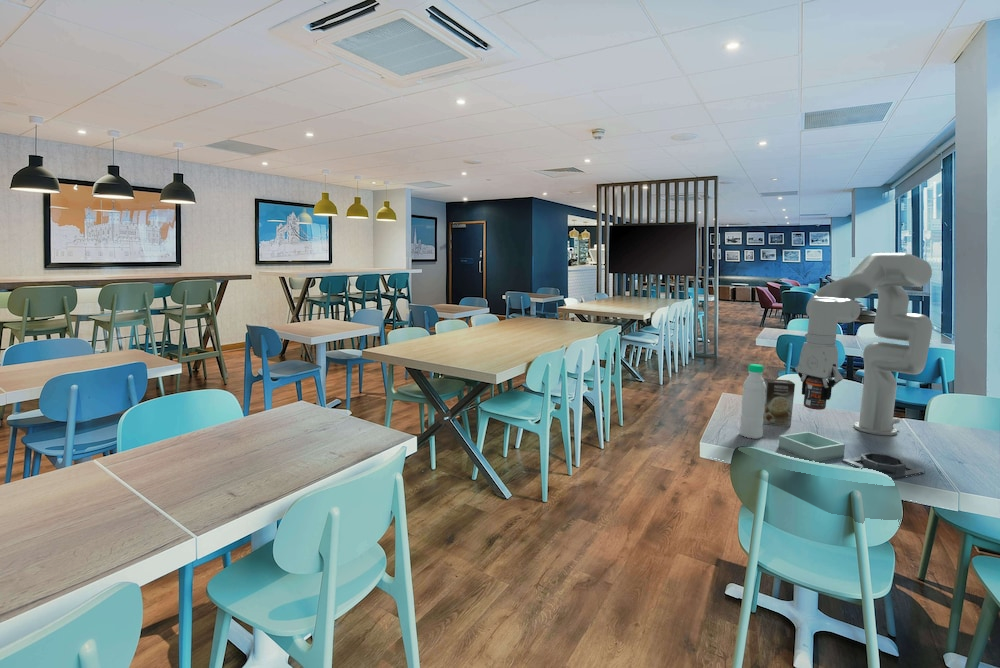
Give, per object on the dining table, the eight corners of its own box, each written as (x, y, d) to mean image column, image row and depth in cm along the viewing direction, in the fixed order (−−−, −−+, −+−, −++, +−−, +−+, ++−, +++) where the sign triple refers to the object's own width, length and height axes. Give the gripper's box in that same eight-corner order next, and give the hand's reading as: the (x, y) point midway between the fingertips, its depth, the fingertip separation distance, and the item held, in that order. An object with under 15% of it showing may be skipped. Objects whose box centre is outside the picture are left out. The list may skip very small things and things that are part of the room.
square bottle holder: (874, 455, 160) (875, 448, 160) (924, 473, 147) (925, 465, 147) (842, 461, 155) (842, 453, 155) (890, 480, 142) (891, 471, 142)
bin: (807, 443, 171) (808, 431, 171) (843, 456, 159) (845, 444, 159) (778, 447, 167) (779, 435, 166) (813, 461, 155) (815, 449, 155)
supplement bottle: (809, 410, 158) (812, 374, 157) (799, 404, 164) (802, 369, 163) (829, 410, 158) (833, 374, 156) (819, 405, 164) (822, 370, 162)
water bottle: (764, 440, 174) (770, 367, 170) (742, 438, 175) (747, 366, 172) (758, 433, 181) (764, 363, 177) (737, 431, 182) (742, 362, 178)
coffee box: (764, 424, 190) (767, 382, 188) (759, 419, 196) (763, 378, 194) (791, 426, 188) (795, 383, 186) (786, 421, 194) (789, 379, 192)
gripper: (787, 336, 165) (783, 391, 167) (839, 344, 149) (832, 405, 151) (805, 335, 167) (800, 389, 170) (857, 343, 151) (851, 403, 154)
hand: (815, 396), depth 161 cm, fingers closed on supplement bottle, 6 cm apart
